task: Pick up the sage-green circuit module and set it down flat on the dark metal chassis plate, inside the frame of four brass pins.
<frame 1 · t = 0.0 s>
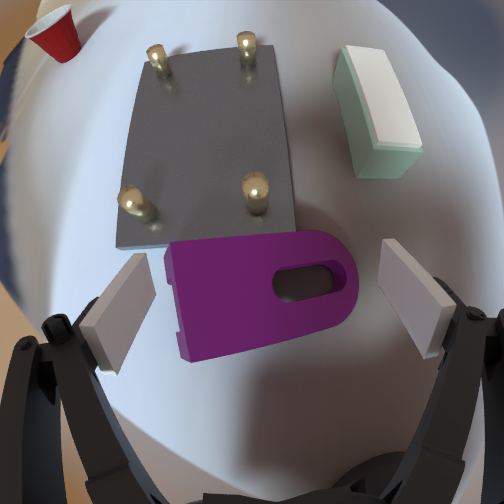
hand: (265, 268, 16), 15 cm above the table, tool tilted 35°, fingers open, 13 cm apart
plastic cup: (71, 54, 42), on the table
circuit module: (364, 125, 34), on the table
chassis plate: (203, 130, 35), on the table
mounting bracket: (269, 292, 31), on the table
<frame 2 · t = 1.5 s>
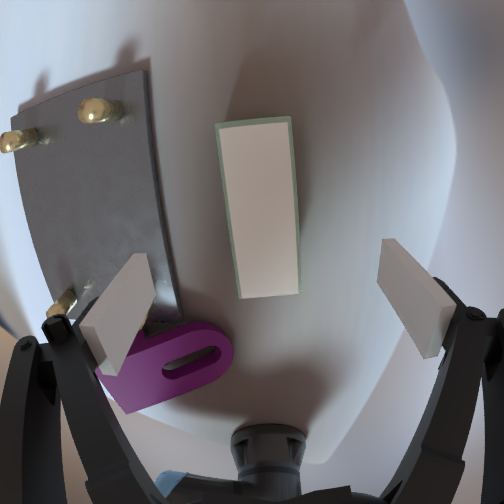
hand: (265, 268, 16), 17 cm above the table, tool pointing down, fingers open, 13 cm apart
circuit module: (261, 195, 31), on the table
chassis plate: (87, 212, 32), on the table
mounting bracket: (171, 343, 40), on the table
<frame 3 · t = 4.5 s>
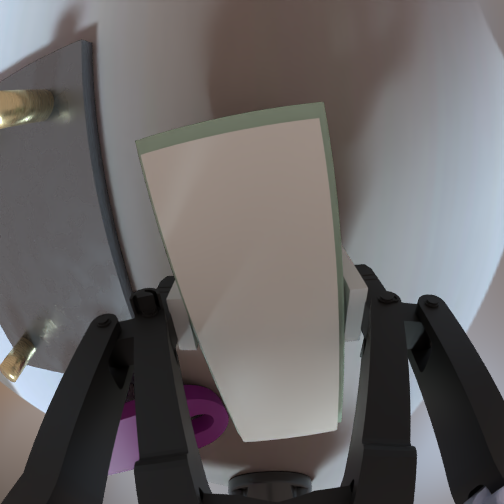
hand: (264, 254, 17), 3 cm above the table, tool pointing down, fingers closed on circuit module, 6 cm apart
circuit module: (265, 254, 18), point 3 cm above the table, touching gripper
chassis plate: (30, 246, 21), on the table
mounting bracket: (152, 399, 30), on the table
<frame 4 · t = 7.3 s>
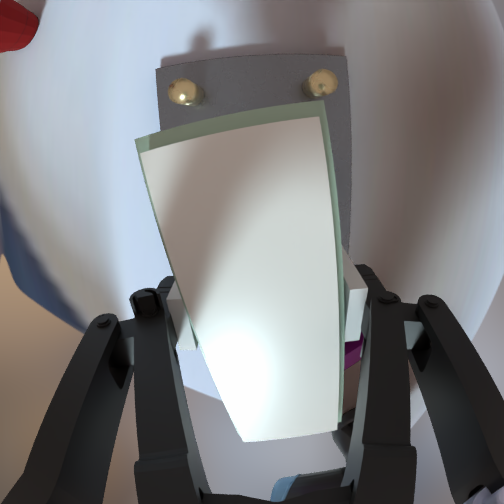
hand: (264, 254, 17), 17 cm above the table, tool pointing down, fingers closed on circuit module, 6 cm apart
plastic cup: (26, 30, 22), on the table
circuit module: (265, 253, 18), point 16 cm above the table, touching gripper
chassis plate: (260, 190, 33), on the table
mounting bracket: (317, 327, 41), on the table
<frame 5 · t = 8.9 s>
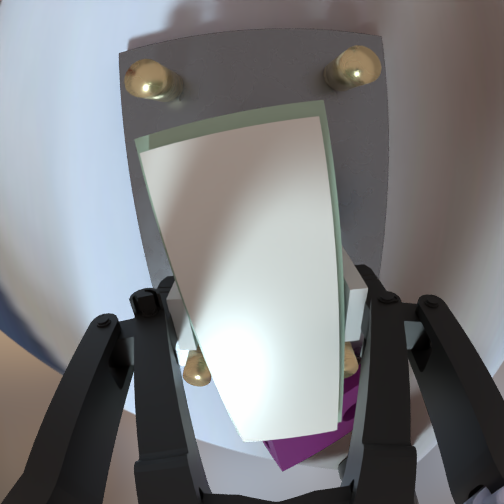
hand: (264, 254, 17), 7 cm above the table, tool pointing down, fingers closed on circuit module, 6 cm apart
circuit module: (265, 253, 18), point 7 cm above the table, touching gripper
chassis plate: (262, 218, 24), on the table
mounting bracket: (330, 377, 32), on the table
when the fingers open (2 cm above the table, at t = 10.2 s): circuit module stays where it is, resting on chassis plate.
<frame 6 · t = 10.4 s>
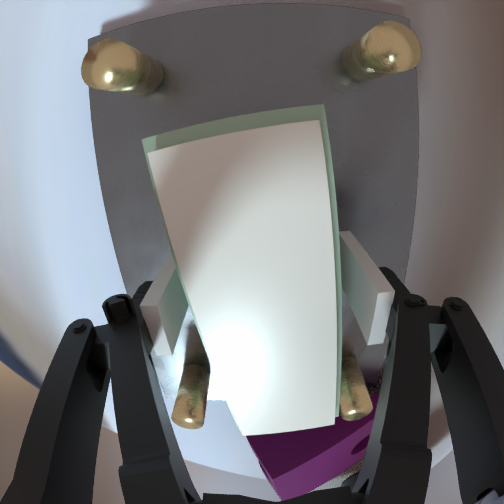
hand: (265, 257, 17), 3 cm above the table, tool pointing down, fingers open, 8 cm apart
circuit module: (265, 251, 18), point 1 cm above the table, touching chassis plate
chassis plate: (263, 238, 20), on the table
mounting bracket: (337, 405, 28), on the table
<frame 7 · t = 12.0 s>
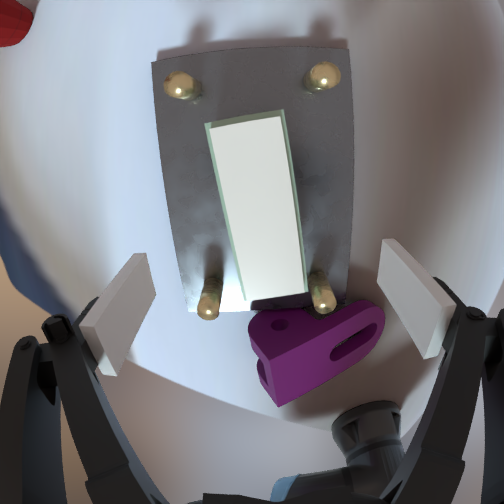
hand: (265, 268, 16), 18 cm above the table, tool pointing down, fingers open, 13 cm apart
plastic cup: (20, 26, 20), on the table
circuit module: (260, 192, 30), point 1 cm above the table, touching chassis plate
chassis plate: (259, 186, 31), on the table
mounting bracket: (319, 325, 40), on the table
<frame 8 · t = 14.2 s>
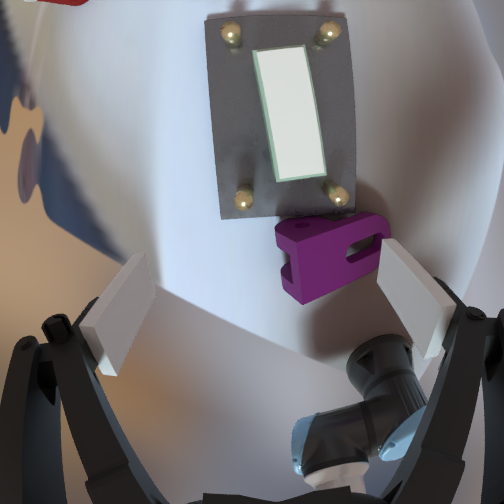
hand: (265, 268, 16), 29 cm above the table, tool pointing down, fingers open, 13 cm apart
circuit module: (285, 113, 37), point 1 cm above the table, touching chassis plate
chassis plate: (283, 112, 38), on the table
mounting bracket: (333, 239, 46), on the table
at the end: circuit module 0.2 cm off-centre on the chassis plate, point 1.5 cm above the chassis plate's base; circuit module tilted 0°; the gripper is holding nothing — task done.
